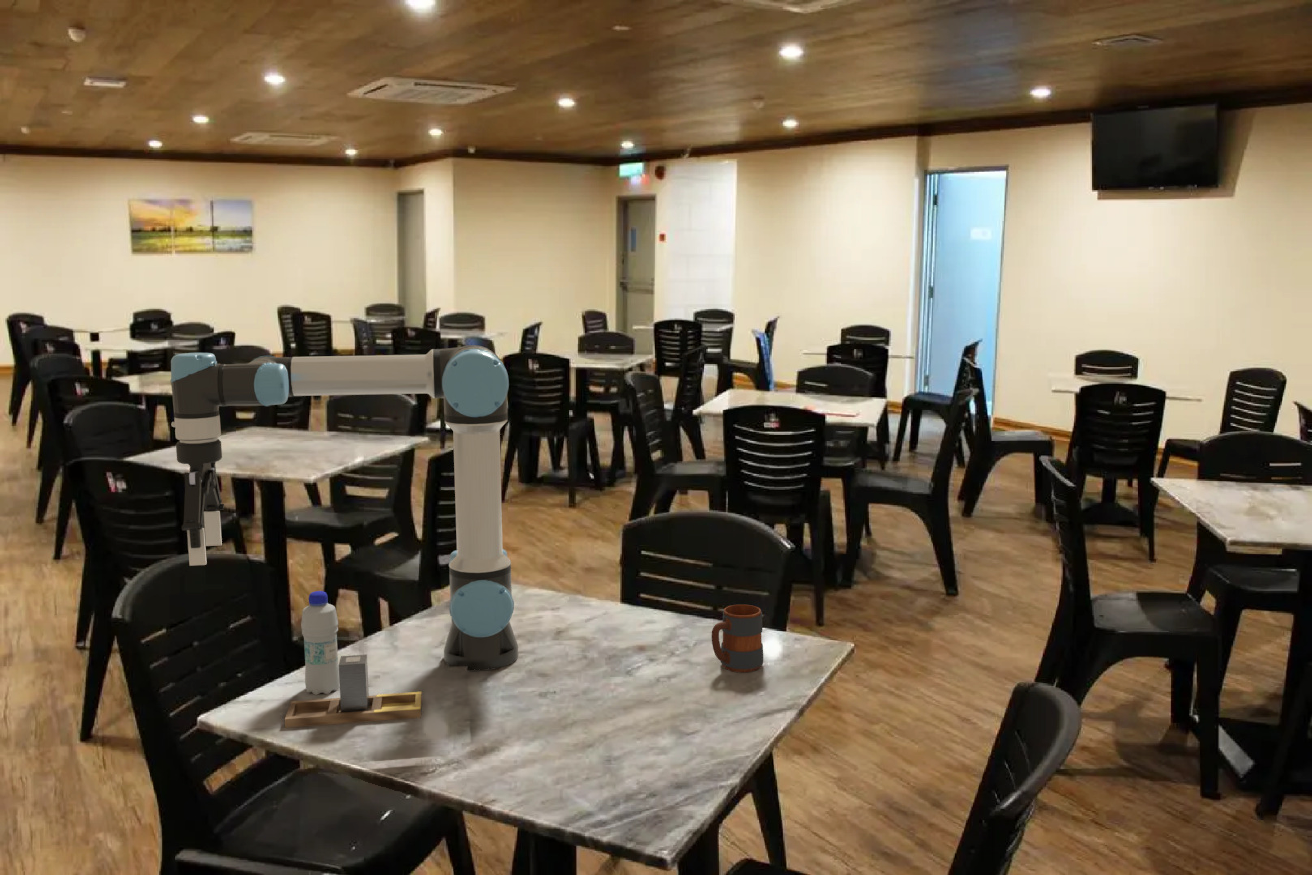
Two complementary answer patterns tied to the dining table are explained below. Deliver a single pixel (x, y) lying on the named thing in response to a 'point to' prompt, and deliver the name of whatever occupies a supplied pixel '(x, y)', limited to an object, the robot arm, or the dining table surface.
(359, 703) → the block
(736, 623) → the mug
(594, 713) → the dining table surface
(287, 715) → the wooden compartment tray
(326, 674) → the bottle
